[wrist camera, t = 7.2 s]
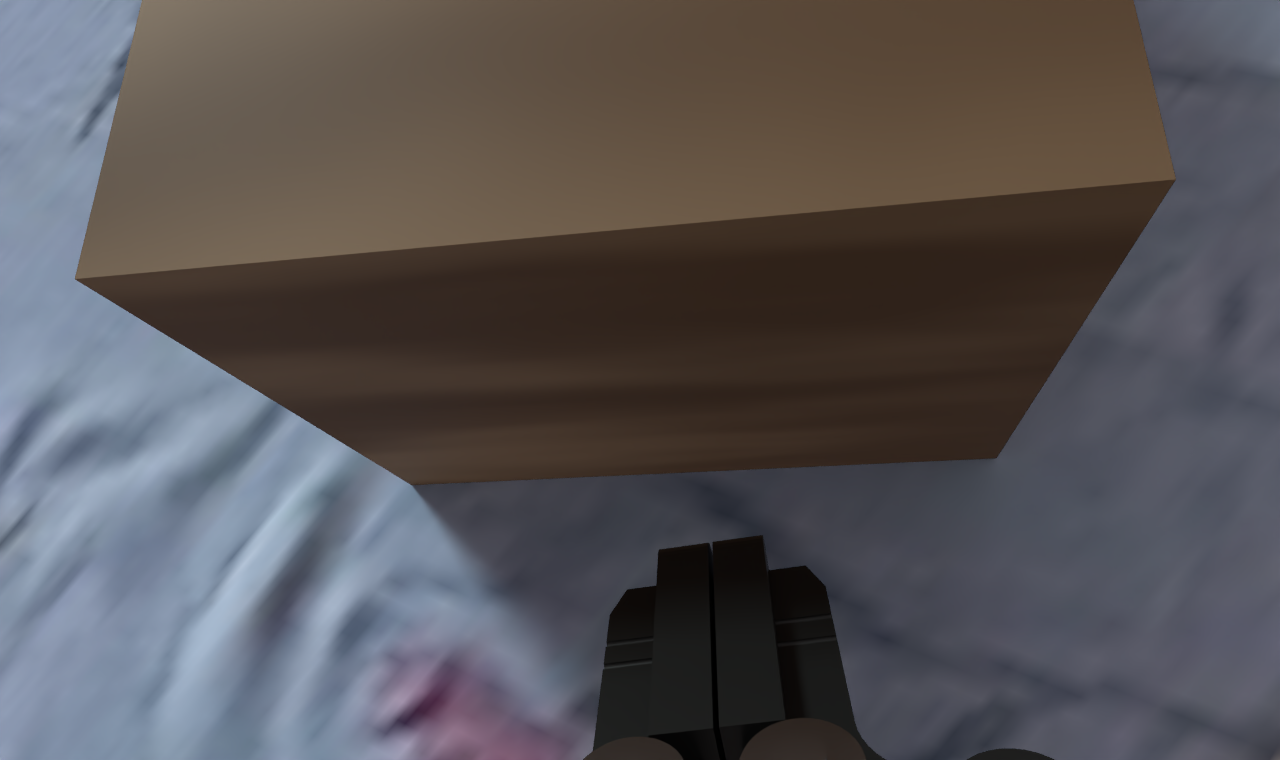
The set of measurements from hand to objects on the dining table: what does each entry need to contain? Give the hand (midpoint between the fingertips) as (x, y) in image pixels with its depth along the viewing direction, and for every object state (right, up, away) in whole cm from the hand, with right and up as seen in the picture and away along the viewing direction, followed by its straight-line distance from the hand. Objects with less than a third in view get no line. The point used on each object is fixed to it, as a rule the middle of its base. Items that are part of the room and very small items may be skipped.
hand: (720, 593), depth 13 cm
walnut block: (0, +8, +8) cm, 12 cm away
